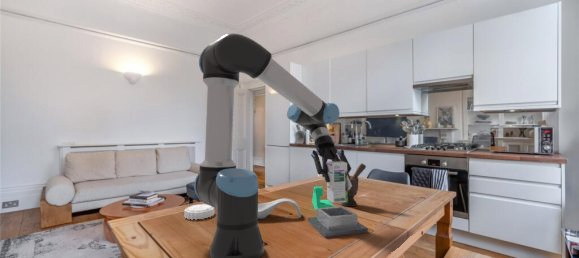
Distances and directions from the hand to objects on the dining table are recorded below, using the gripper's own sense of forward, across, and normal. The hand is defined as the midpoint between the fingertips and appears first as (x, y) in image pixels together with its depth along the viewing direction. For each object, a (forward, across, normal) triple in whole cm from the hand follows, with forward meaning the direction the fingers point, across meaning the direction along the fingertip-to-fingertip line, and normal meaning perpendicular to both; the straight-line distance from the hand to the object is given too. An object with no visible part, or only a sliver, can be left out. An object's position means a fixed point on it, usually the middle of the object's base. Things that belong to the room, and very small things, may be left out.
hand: (341, 188), depth 90 cm
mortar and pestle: (-8, -20, -30) cm, 36 cm away
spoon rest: (-5, +21, -26) cm, 33 cm away
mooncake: (-12, +50, -33) cm, 60 cm away
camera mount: (-7, -4, -28) cm, 29 cm away
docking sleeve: (+8, +1, -13) cm, 15 cm away
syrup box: (+1, 0, -6) cm, 7 cm away
